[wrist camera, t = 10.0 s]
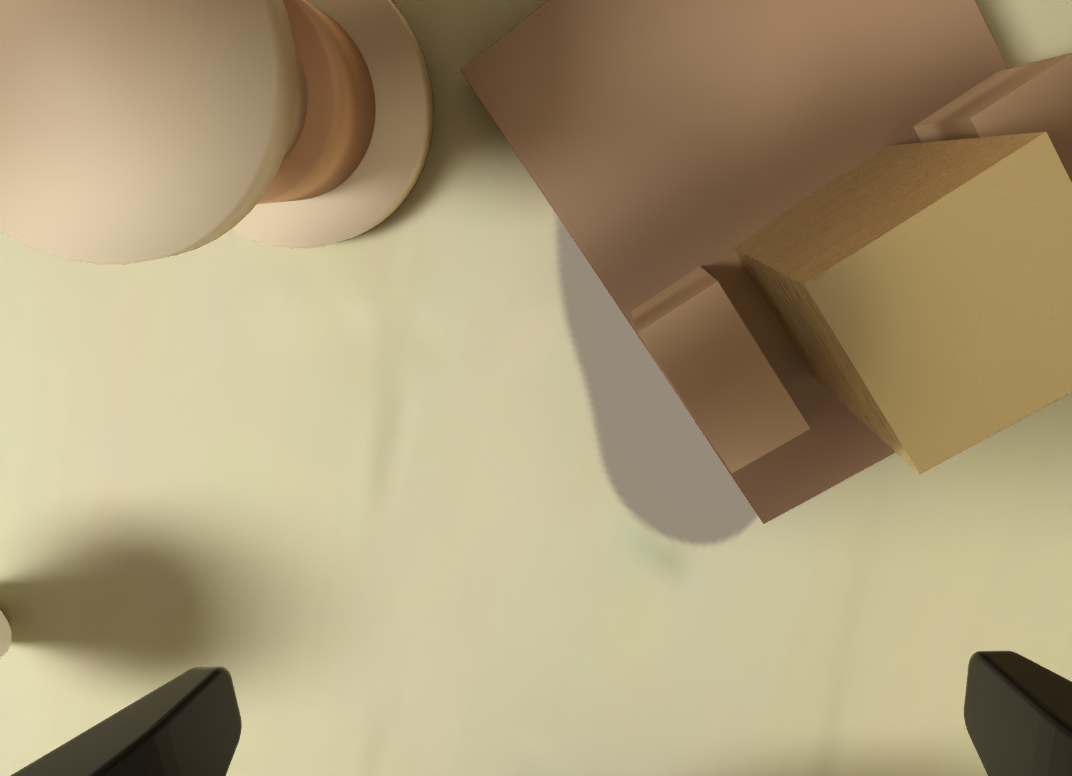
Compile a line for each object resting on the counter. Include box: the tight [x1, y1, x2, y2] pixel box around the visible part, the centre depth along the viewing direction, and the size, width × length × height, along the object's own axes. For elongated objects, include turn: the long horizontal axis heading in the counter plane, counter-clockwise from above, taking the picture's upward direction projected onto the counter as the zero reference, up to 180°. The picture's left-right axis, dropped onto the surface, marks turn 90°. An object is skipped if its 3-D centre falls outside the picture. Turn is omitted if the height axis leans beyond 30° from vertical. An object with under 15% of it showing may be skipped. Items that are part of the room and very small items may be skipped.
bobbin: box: [0, 0, 434, 265], centre depth 14 cm, size 7×7×8 cm
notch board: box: [461, 0, 1072, 524], centre depth 16 cm, size 14×10×4 cm
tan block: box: [732, 132, 1072, 474], centre depth 14 cm, size 4×4×6 cm
